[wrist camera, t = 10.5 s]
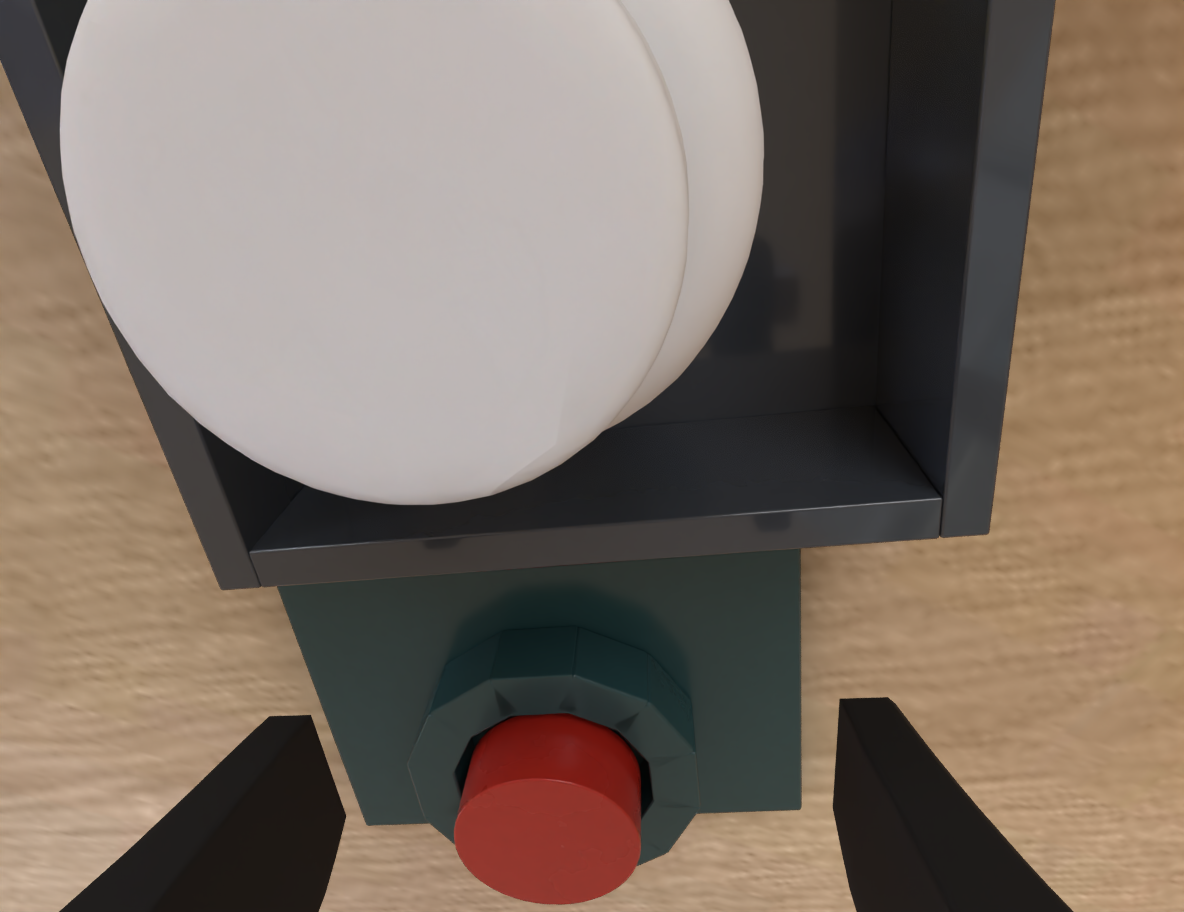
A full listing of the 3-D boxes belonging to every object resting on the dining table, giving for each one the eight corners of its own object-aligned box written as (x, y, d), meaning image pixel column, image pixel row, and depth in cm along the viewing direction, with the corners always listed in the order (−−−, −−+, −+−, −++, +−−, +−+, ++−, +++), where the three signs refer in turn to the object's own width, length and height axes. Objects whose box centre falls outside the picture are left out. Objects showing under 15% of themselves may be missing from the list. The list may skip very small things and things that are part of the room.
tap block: (374, 810, 23) (346, 886, 21) (286, 568, 19) (240, 631, 17) (797, 794, 22) (815, 874, 20) (795, 530, 18) (817, 593, 16)
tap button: (487, 834, 21) (473, 907, 19) (455, 714, 19) (435, 783, 17) (648, 828, 20) (649, 903, 18) (631, 705, 18) (631, 775, 16)
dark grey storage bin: (319, 471, 18) (220, 591, 14) (84, -264, 12) (-216, -453, 8) (899, 420, 17) (990, 536, 12) (951, -441, 11) (1156, -788, 7)
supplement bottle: (337, 66, 13) (-304, 30, 4) (610, -122, 12) (519, -775, 3) (500, 332, 16) (301, 691, 6) (750, 199, 14) (958, 413, 5)
